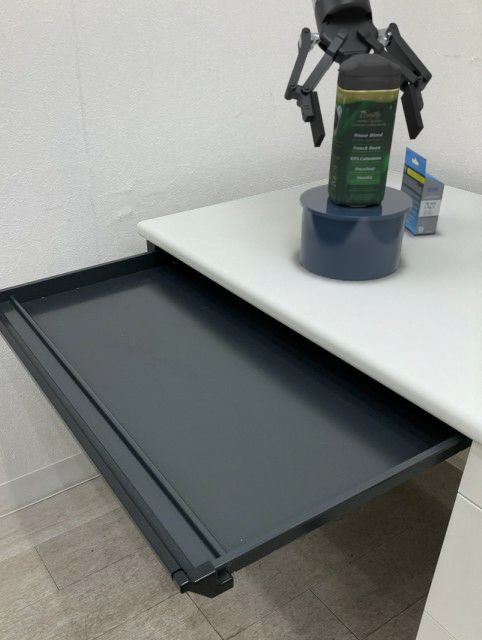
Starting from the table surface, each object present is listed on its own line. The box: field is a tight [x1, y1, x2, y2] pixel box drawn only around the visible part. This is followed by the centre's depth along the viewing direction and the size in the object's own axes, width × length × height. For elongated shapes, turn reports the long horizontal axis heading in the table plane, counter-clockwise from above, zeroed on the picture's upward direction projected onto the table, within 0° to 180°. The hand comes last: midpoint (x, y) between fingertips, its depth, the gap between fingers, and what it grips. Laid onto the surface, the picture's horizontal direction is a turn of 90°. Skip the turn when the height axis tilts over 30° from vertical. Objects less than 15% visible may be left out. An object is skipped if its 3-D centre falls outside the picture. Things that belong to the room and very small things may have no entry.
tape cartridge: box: [400, 146, 446, 236], centre depth 99 cm, size 9×4×12 cm, turn 5°
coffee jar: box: [327, 52, 401, 207], centre depth 81 cm, size 10×8×19 cm
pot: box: [298, 183, 413, 282], centre depth 89 cm, size 16×16×10 cm
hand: (368, 137), depth 79 cm, fingers open, 13 cm apart
